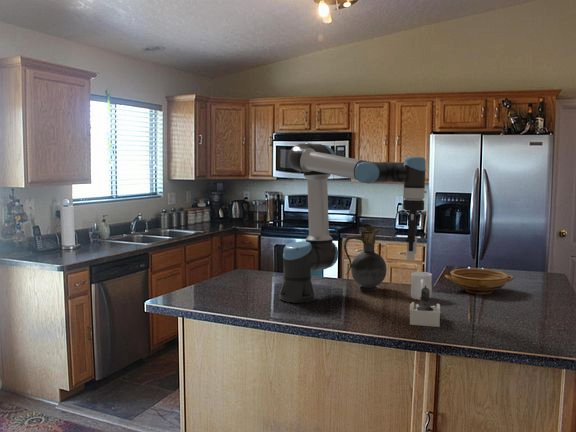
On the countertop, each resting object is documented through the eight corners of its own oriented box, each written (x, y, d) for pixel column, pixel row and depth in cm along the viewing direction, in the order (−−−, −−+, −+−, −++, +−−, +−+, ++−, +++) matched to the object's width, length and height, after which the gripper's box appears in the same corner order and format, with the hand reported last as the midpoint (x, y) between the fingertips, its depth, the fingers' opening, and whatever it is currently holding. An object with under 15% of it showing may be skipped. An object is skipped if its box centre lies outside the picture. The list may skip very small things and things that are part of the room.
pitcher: (388, 292, 229) (389, 224, 227) (344, 292, 229) (345, 224, 227) (383, 286, 240) (384, 221, 237) (342, 286, 240) (342, 222, 238)
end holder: (409, 324, 182) (409, 310, 181) (411, 315, 193) (411, 302, 193) (439, 326, 179) (439, 312, 179) (439, 317, 191) (439, 303, 190)
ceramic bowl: (451, 297, 220) (452, 278, 219) (438, 284, 244) (438, 267, 243) (523, 298, 218) (524, 279, 218) (503, 285, 242) (503, 268, 242)
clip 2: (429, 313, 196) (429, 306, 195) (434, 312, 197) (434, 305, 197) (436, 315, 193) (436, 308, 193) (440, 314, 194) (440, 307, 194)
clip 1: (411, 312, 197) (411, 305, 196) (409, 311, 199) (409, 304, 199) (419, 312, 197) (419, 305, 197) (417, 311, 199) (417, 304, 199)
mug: (433, 303, 211) (433, 278, 210) (412, 302, 212) (412, 277, 211) (430, 296, 223) (430, 272, 222) (410, 295, 224) (410, 271, 223)
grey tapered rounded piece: (414, 316, 190) (414, 283, 189) (430, 315, 190) (430, 283, 189) (419, 321, 184) (420, 287, 183) (435, 320, 185) (436, 287, 183)
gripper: (423, 202, 178) (420, 263, 180) (425, 197, 202) (423, 251, 204) (400, 201, 180) (398, 262, 182) (405, 196, 204) (403, 250, 206)
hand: (411, 256), depth 193 cm, fingers open, 13 cm apart
